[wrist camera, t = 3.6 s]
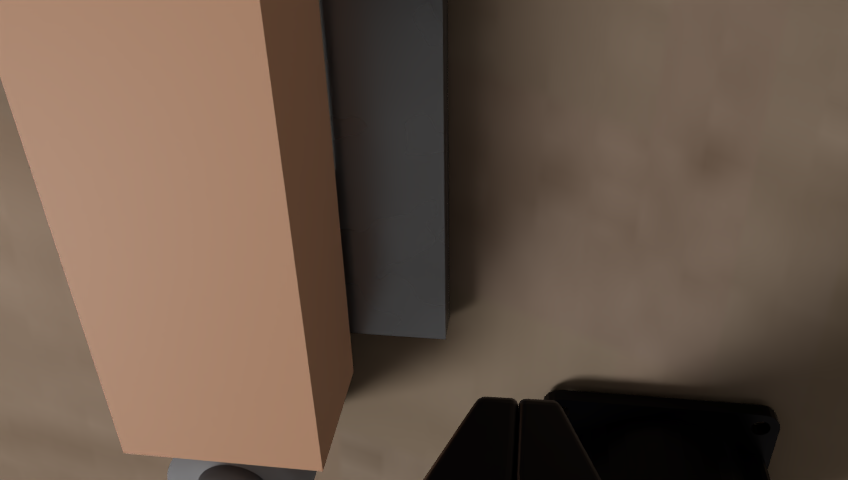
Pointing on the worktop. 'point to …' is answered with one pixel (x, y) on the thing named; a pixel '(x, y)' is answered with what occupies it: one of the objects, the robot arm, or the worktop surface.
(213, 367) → the swing bar
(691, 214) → the worktop surface
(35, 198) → the worktop surface
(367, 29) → the label plate
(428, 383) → the worktop surface
